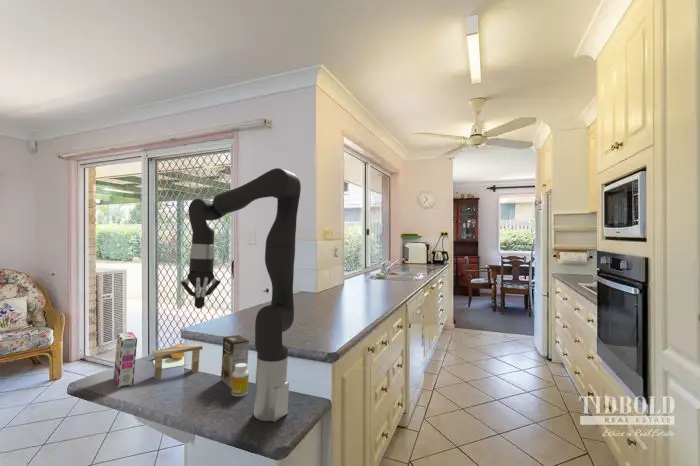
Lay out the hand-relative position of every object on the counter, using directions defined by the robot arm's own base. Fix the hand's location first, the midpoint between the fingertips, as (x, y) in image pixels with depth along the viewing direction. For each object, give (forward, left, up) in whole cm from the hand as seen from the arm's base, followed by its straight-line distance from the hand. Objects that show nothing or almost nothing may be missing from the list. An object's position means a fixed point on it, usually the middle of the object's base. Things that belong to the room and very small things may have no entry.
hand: (199, 308), depth 114 cm
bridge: (+21, -8, -29) cm, 36 cm away
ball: (+35, -18, -26) cm, 48 cm away
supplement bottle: (-12, -9, -29) cm, 33 cm away
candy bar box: (+29, +7, -29) cm, 42 cm away
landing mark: (+33, -14, -29) cm, 46 cm away
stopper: (+40, -17, -29) cm, 53 cm away
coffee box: (-3, -14, -29) cm, 33 cm away
